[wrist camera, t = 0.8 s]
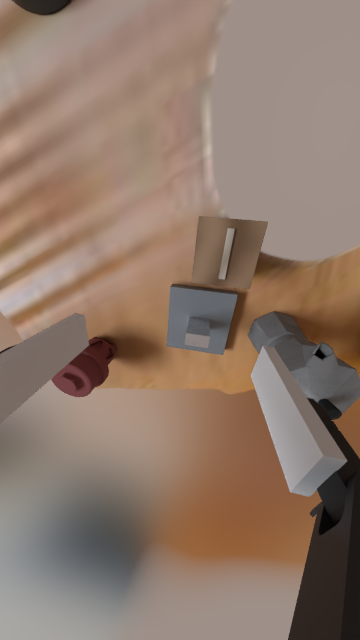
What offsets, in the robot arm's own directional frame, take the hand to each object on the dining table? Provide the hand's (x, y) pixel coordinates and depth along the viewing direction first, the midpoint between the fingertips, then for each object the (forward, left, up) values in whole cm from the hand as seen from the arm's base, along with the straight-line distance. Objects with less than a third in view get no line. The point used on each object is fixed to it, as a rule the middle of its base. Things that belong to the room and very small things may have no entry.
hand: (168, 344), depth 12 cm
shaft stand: (+7, +3, -21) cm, 22 cm away
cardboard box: (-6, +5, -21) cm, 22 cm away
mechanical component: (+18, -19, -21) cm, 34 cm away
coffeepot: (+9, +18, -21) cm, 29 cm away
